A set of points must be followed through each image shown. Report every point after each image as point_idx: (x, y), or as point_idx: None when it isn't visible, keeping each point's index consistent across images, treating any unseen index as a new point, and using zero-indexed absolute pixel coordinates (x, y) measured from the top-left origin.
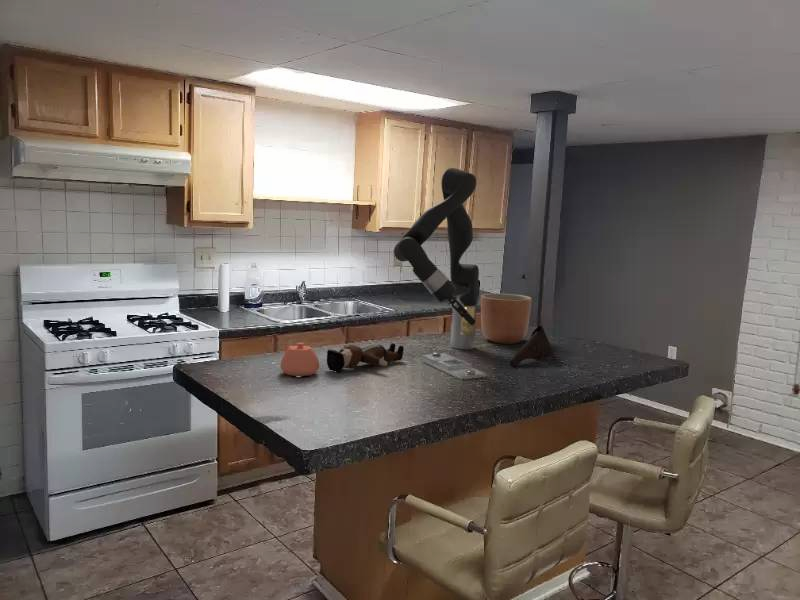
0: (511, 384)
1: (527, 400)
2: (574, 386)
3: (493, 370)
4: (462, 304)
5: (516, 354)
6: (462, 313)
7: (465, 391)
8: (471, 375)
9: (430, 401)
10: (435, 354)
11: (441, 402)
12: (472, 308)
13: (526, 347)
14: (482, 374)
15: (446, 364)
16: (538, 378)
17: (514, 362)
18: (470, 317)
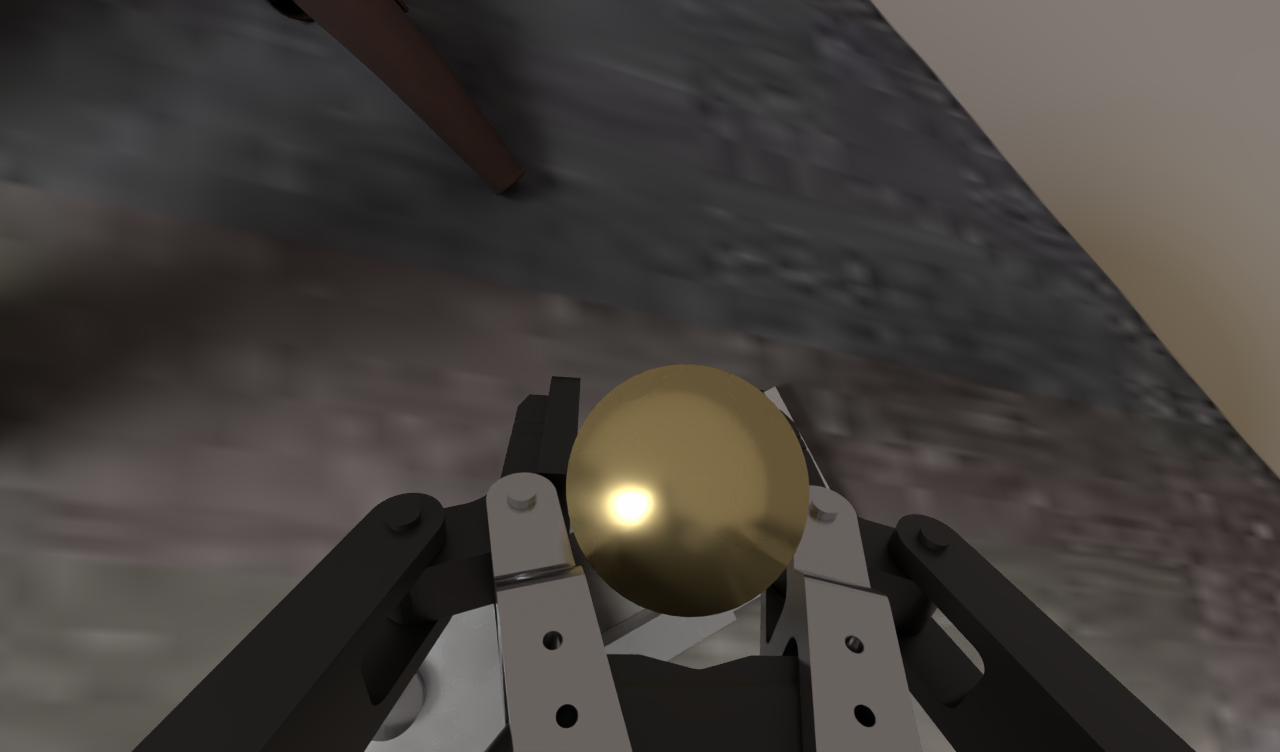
0: (879, 287)
1: (1105, 280)
2: (854, 28)
3: (611, 319)
4: (895, 660)
5: (466, 124)
6: (929, 618)
7: (1049, 539)
8: (821, 476)
9: (1250, 736)
10: (418, 709)
11: (1247, 679)
12: (762, 406)
13: (409, 22)
14: (785, 408)
15: (682, 628)
16: (746, 132)
17: (524, 171)
18: (810, 462)
